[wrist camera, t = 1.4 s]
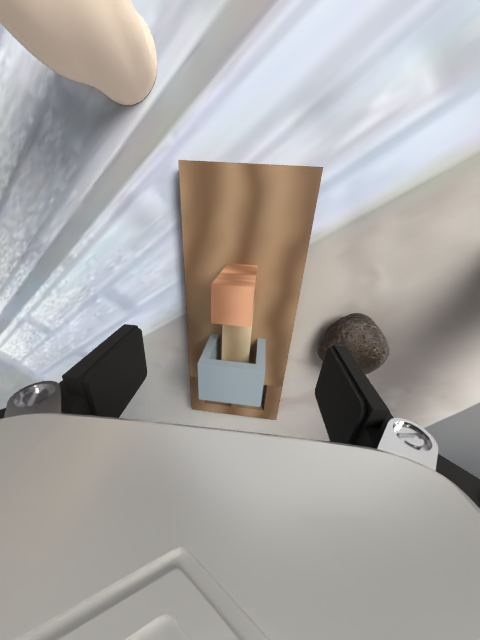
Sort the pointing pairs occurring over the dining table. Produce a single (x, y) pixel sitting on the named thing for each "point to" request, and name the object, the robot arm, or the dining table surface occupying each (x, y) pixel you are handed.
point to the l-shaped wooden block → (234, 309)
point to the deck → (246, 258)
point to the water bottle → (88, 43)
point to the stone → (358, 341)
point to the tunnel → (231, 376)
